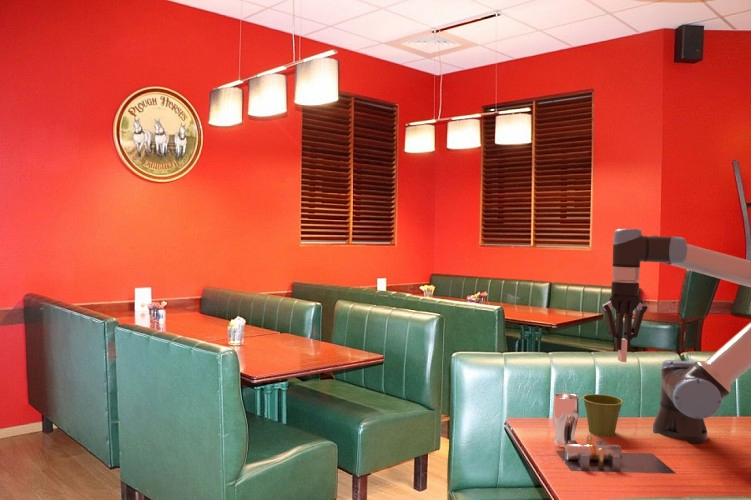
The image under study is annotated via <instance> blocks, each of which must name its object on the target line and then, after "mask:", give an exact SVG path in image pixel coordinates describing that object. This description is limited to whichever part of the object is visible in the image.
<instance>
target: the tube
mask: <svg viewBox="0 0 751 500" xmlns="http://www.w3.org/2000/svg"><path fill="white" fill-rule="evenodd" d="M599 448H603V449H604V461H608V460H609V453H617V454H618V455H619V456H620V457H621V459H622V453H623V452H622V451H623V450H622V448H621V445H619V444H608V445H597V444H593V443H592V444H587V443H586V444H584V443H582V444H580V443H578V444H566V445H565V447H564V451H565V456H566V459H567V460H578V452H586V453H587V454H588V455H589V456H590V460H598V451H599Z"/></svg>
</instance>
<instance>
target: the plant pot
mask: <svg viewBox="0 0 751 500" xmlns="http://www.w3.org/2000/svg"><path fill="white" fill-rule="evenodd" d="M581 399H582V400H583V402H584V407H585V411H586V418H587V420H586V421H587V425H588V432H589V433H590V434H593V435H595V436H600V437H612V436H615V434H616V429H617V424H618V419H619V413H620V412H621V411H620V410H621V408H622V404H624V400H623V399H622V398H620V397H617V396H613V395H608V394H594V393H593V394H591V393H590V394H585V395H583V396H581Z"/></svg>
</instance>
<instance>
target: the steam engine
mask: <svg viewBox="0 0 751 500" xmlns="http://www.w3.org/2000/svg"><path fill="white" fill-rule="evenodd" d="M568 444H579V443H578V441H576V440H568ZM586 444H593V436H589V435H588V436H586ZM596 445H609V444H608V443H607V442H606V441H604V440H597V441H596ZM555 453H557V455H558V456H559V458H560V459H561V460H562V461H563V463H564V464H565V465H566V466H567V467H568V469H569V470H570V471H571V472H592V473H593V472H596V473H597V472H600V473H603V472H604V473H633V474H634V473H635V474H637V473H638V474H642V473H643V474H672V475H675V474H676V475H677V473H676V472H675V471H674V470H673V469H672V468H670V466H669V465H667V464H666V463H664V461H662V460H661V459H659V458H658V456H656V455H655V454H654V453H652V452H651V453H650V452H622V459H621V457H620V456H619V455H618V454H617V453H609V460H608V461H604V449H603V448H599V451H598V460H590V456H589V455H588V454H587V453H586V452H578V460H567V459H566V456H565V450H555Z"/></svg>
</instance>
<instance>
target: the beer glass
mask: <svg viewBox="0 0 751 500" xmlns="http://www.w3.org/2000/svg"><path fill="white" fill-rule="evenodd" d="M553 399H554V400H553V410H552V411H553V422H554V431H555V434H554V435H555V437H554V441H553V444H554V445H555V446H557V447H561V448H565V445H566V444H568V440H575V437H576V436H575V435H576V428H577V425H578V422H579V411H580V409H579V408H580V405H579V404H580V403H579V402H580V401H579V396H578V395H576V394H573V393H569V392H557V393H555V394H554V398H553ZM575 441H576V440H575Z"/></svg>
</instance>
